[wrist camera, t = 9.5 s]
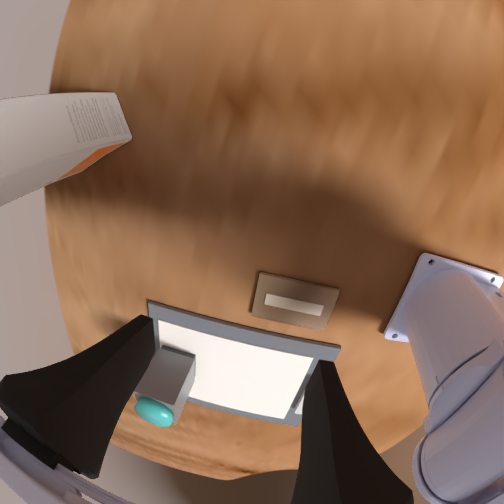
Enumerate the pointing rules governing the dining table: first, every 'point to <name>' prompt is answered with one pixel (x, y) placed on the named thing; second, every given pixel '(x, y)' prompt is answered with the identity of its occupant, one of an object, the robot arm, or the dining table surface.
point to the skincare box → (55, 138)
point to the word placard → (294, 301)
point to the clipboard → (242, 364)
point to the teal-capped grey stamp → (165, 386)
